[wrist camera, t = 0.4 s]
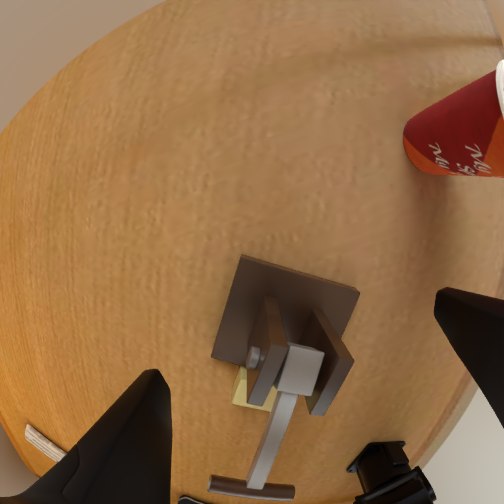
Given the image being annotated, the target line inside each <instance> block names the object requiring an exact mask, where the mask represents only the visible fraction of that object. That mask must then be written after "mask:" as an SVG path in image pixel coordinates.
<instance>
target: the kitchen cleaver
mask: <svg viewBox="0 0 504 504" xmlns="http://www.w3.org/2000/svg"><path fill="white" fill-rule="evenodd" d="M178 504H207V503H203V502H200V501H197V500H195V499H192V498H190V497H188V496H181V497H180V498H179V500H178Z"/></svg>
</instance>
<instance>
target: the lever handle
mask: <svg viewBox="0 0 504 504" xmlns="http://www.w3.org/2000/svg"><path fill="white" fill-rule="evenodd" d="M287 343H288V347H289V349H288V351H287V353H286V356H285V358H284V360H283V363H282V365H281V367H280V369H279V372H278V374H277V376H276V378H275V381H274V383H273V385H274V387H275V388H276V390H277V391H278V392H277V395H276V398H275V401H274V404H273V407H272V410H271V413H270V416H269V419H268V421H267V424H266V427H265V430H264V433H263V436H262V438H261V441H260V444H259V447H258V449H257V452H256V455H255V457H254V460H253V462H252V465H251V468H250V470H249V473H248V475H247V478H246V480H240V479H234V478H228V477H223V476H218V475H213V474H211V475H210V477H209V481H208V485H207V491H208V492H213V493H219V494H224V495H230V496H237V497H245V498H253V499H263V500H277V501H291V500H293V498H294V495H295V487H294V485H287V484H274V483H265V482H266V479H267V477H268V475H269V472H270V470H271V468H272V465H273V463H274V460H275V458H276V455H277V453H278V450H279V448H280V445H281V443H282V440H283V437H284V435H285V432H286V429H287V427H288V424H289V421H290V418H291V415H292V413H293V410H294V407H295V404H296V401H297V398H298V395H305V396H311V395H312V392H313V389H314V386H315V383H316V380H317V377H318V374H319V370H320V367H321V364H322V360H323V357H324V352H321V351H319V350H316V349H314V348H312V347H308V346H303V345H299V344H294V343H290V342H287Z"/></svg>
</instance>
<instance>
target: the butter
mask: <svg viewBox="0 0 504 504" xmlns="http://www.w3.org/2000/svg"><path fill="white" fill-rule="evenodd" d="M277 392H278V391H277V390H276V388H275V387H274V385H272V387H271V389H270V392H269V394H268V396H267V398H266V400H265V402H264V404H263V406H262V407H261V406H256V405H251V404H247V403H246V395H247V368H246V366H242V365H241V366H240V369H239V371H238V374H237V377H236V380H235V382H234V385H233V390H232V401H231V403H232V404H236V405H241V406H245V407H250V408H255V409H260V410H265V411H271V410H272V407H273V404H274V401H275V398H276V395H277Z"/></svg>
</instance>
